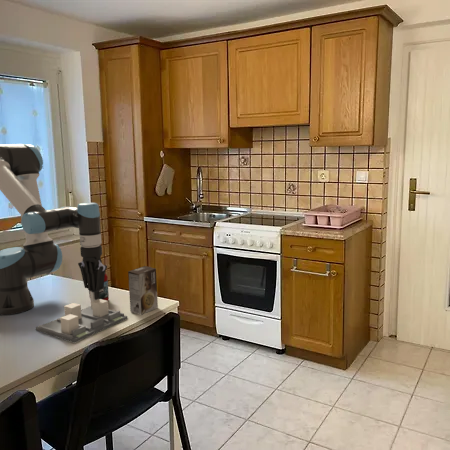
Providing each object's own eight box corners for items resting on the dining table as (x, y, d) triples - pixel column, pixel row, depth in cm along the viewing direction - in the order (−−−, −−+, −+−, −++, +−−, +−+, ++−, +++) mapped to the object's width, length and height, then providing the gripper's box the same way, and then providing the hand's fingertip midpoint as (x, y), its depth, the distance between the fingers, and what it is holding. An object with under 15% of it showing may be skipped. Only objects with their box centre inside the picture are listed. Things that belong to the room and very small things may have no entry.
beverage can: (104, 304, 180) (102, 275, 178) (88, 303, 182) (86, 275, 180) (111, 299, 187) (110, 271, 185) (96, 298, 188) (94, 270, 186)
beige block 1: (65, 319, 163) (64, 306, 162) (74, 315, 166) (73, 302, 165) (72, 321, 161) (71, 308, 160) (81, 317, 164) (80, 304, 163)
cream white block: (92, 315, 167) (92, 302, 166) (101, 311, 170) (100, 299, 169) (100, 317, 164) (99, 304, 164) (108, 313, 168) (107, 300, 167)
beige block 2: (61, 331, 152) (60, 317, 151) (71, 327, 155) (70, 314, 154) (69, 334, 150) (68, 320, 149) (79, 330, 153) (78, 316, 152)
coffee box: (146, 304, 180) (144, 265, 177) (158, 307, 176) (156, 268, 173) (129, 311, 173) (127, 271, 170) (141, 315, 169) (139, 273, 166)
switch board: (35, 330, 156) (35, 321, 156) (90, 308, 176) (89, 301, 176) (74, 342, 146) (73, 334, 145) (127, 318, 166) (127, 310, 165)
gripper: (70, 245, 164) (75, 307, 168) (95, 249, 158) (99, 313, 162) (86, 241, 171) (91, 301, 175) (111, 245, 164) (115, 307, 168)
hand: (95, 307), depth 168 cm, fingers closed
